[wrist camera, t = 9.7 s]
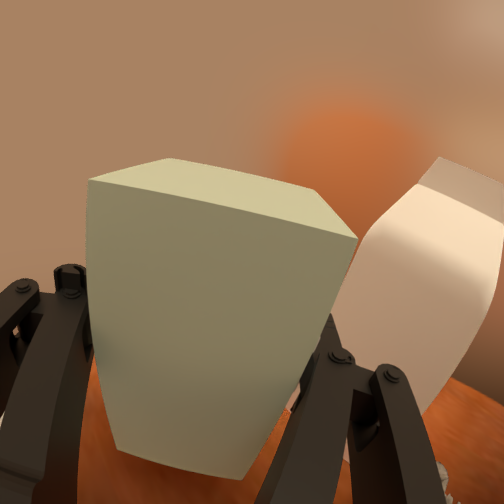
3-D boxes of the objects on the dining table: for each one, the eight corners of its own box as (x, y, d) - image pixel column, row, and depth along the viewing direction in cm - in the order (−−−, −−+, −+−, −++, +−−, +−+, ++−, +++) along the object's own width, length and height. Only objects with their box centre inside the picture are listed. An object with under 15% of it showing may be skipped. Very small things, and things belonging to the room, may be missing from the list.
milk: (278, 401, 26) (383, 127, 17) (340, 362, 34) (424, 160, 24) (364, 475, 19) (547, 194, 9) (410, 415, 26) (526, 207, 17)
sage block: (248, 392, 16) (314, 190, 11) (242, 480, 10) (358, 239, 6) (150, 369, 16) (170, 158, 11) (116, 449, 10) (88, 179, 6)
